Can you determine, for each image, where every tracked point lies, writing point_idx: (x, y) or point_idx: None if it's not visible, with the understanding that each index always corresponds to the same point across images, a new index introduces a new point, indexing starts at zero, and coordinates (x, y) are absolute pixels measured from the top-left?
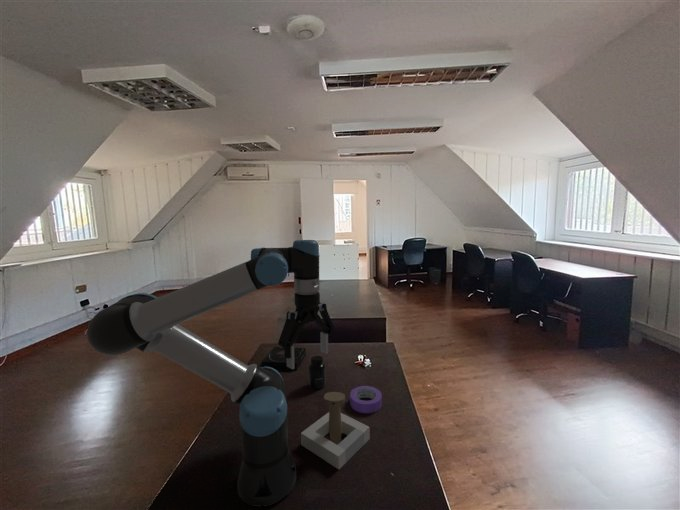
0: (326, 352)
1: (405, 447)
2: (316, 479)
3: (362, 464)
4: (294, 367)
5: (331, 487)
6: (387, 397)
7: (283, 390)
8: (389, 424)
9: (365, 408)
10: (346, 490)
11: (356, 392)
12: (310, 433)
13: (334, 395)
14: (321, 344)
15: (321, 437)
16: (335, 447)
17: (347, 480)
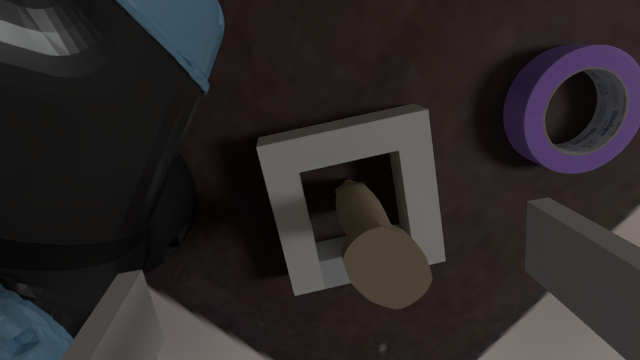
0: (535, 277)
1: (471, 315)
2: (229, 264)
3: (350, 293)
4: (160, 346)
5: (247, 301)
6: (636, 132)
7: (152, 178)
8: (518, 233)
9: (524, 152)
10: (271, 325)
11: (576, 72)
12: (282, 169)
13: (393, 263)
14: (580, 250)
15: (300, 208)
16: (308, 266)
17: (290, 307)
